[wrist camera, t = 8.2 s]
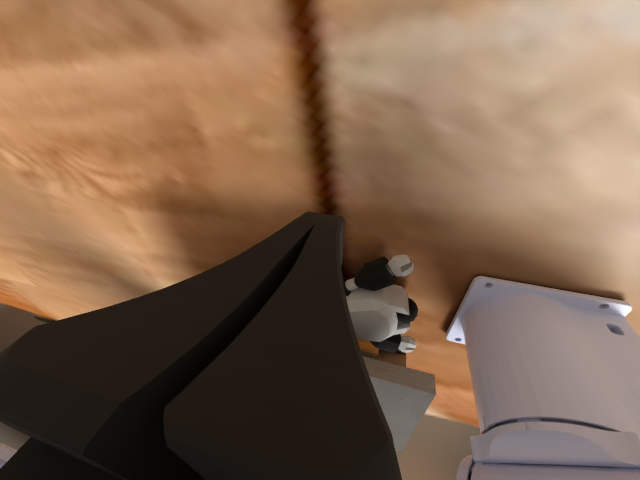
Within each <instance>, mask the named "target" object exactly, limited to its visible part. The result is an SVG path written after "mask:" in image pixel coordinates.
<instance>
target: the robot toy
mask: <svg viewBox="0 0 640 480" xmlns="http://www.w3.org/2000/svg"><path fill="white" fill-rule="evenodd" d="M413 270H414V264H413V262H412V261H411V262H410V258H409V257H408V256H407V255H405V254H400V255H394V256H393V258H392V259H391V260H390V261H389V260H388V259H387V258H386V257H385V256H384V257H381V258H379V259H376V260H374V261H371V262H369V263H367V264H365V265H364V266H363V267H362V268H361V270H360V271H359V272H358V274H357V275H356V276H355V277H354V278H352V279H349V280H347V279H346V278H345V277H342V278H343V284H344V290H345V294H346V299H347V304H348V308H349V312H350V316H351V320H352V323H353V327H354V330H355V333H356V337H357V339H360V340H368V341H370V342H371V343H372V344H373V345H374V347H375V348H379V349H382V350H385V351H388V352H391V353H395V352H396V351H397V350H398V349H399V350H400V351H401V352H407V353H410V352H412V351H413V350H414V349H413V348H415V347H416V341H415V339H413V338H411V337H410V336H401V335H400V334H403V333H406V332H407V330H408V329H409V328H410V322H411V321H413V320H414V319H415V318H416V317H417V313H418V308H417V305H416V303H415V302H414V301H413V300H412V299H410V298H408V293H407V292H406V290H405V289H404V288H403V287H402V286H398V285H394V284H395V281H396V276H402V277H406V276H407V275H409V274H410V273H412V272H413Z"/></svg>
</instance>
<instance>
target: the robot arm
mask: <svg viewBox="0 0 640 480" xmlns="http://www.w3.org/2000/svg"><path fill="white" fill-rule="evenodd" d="M344 227H345V220H344V218H343V217H342V216H335V215H328V214H321V213H314V212H306V213H304V214H303V215H301V216H300V217H298V218H297V219H295V220H294V221H292V222H291V223H289V224H288V225H287V226H285V227H284V228H282V229H281V230H279V231H277V232H276V233H274V234H273V235H271V236H270V237H268V238H267V239H265V240H263V241H262V242H260V243H258V244H257V245H255V246H253V247H252V248H250V249H248V250H247V251H245V252H243V253H241V254H240V255H238V256H236V257H234V258H232V259H230V260H228V261H226V262H224V263H222V264H220V265H218V266H216V267H214V268H212V269H210V270H208V271H205V272H203V273H201V274H198V275H196V276H193V277H191V278H189V279H186V280H184V281H181V282H179V283H176V284H174V285H171V286H169V287H166V288H163V289H161V290H158V291H155V292H152V293H149V294H146V295H144V296H141V297H138V298H135V299H131V300H128V301H125V302H122V303H119V304H116V305H112V306H109V307H106V308H102V309H99V310H95V311H91V312H88V313H84V314H80V315H77V316H73V317H69V318H66V319H62V320H58V321H54V322H51V323H47V324H43V325H39V326H36V327H34V328H33V329H31V330H30V331H28V332H27V333H26V334H24V335H23V336H22V337H21V338H19V339H18V340H17V341H15V342H14V343H13V344H11V345H10V346H9V347H7V348H6V349H5V350H3V351H2V352H1V353H0V422H2V423H4V424H6V425H8V426H10V427H12V428H14V429H16V430H18V431H20V432H22V433H24V434H26V435H28V436H30V439H28V441H27V442H26V443H25V444H24V445H23V446H22V447H21V448H20V449H19V450H18V451H16V450H14V449H12V448H10V447H8V446H6V445H4V444H2V443H0V480H402V478H401V473H400V469H399V465H398V460H397V456H396V452H395V447H394V442H393V436H392V433H391V430H390V428H389V425H388V423H387V420H386V418H385V415H384V413H383V411H382V408H381V406H380V403H379V400H378V398H377V395H376V392H375V390H374V387H373V385H372V382H371V379H370V376H369V373H368V371H367V368H366V365H365V362H364V359H363V356H362V353H361V350H360V347H359V343H358V340H357V337H356V333H355V330H354V327H353V323H352V320H351V316H350V312H349V308H348V304H347V299H346V294H345V290H344V284H343V278H342V270H341V266H342V261H343V245H344ZM487 283H491V284H487ZM631 310H632V306H631V305H630V304H629V303H628V302H626V301H621V300H616V299H610V298H604V297H598V296H593V295H587V294H581V293H576V292H570V291H564V290H559V289H553V288H547V287H542V286H536V285H530V284H524V283H519V282H513V281H507V280H502V279H496V278H490V277H485V276H478V277H475V278H474V279H473V281H472V283H471V285H470V287H469V289H468V291H467V293H466V295H465V297H464V298H463V300H462V302H461V304H460V306H459V308H458V310H457V312H456V314H455V316H454V318H453V320H452V322H451V324H450V326H449V328H448V330H447V332H446V339H447V340H449V341H452V342H457V343H461V344H465V345H466V350H467V356H468V362H469V368H470V373H471V379H472V385H473V391H474V396H475V402H476V408H477V414H478V420H479V425H480V431H481V435H478V436H471V437H470V441H471V448H472V455H470V456H467V457H465V458H464V459H463V460H462V461H461V463H460V465H459V468H458V472H457V476H456V479H455V480H640V337H639V335H638V334H637V333H636V331H635V330H634V329H633V328H632V326H631V325H630V324H629V322H628V321H627V320H626V318H625V316H626V315H627V314H628V313H629V312H630V311H631Z"/></svg>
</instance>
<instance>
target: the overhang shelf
mask: <svg viewBox="0 0 640 480" xmlns="http://www.w3.org/2000/svg"><path fill="white" fill-rule="evenodd" d="M357 340H358V343H359V347H360V350H361V353H362V356H363V359H364V362H365V365H366V368H367V371H368V373H369V376H370V379H371V382H372V385H373V387H374V390H375V392H376V395H377V398H378V400H379V403H380V406H381V408H382V411H383V413H384V415H385V418H386V420H387V423H388V425H389V428H390V430H391V433H392V436H393V442H394V447H395V449H397V450H402V449H403V447H404V446H405V444H406V443H407V441H408V439H409V438H410V436H411V434H412V433H413V431H414V429H415V428H416V426H417V425H418V423H419V421H420V419H421V418H422V416H423V415H424V413H425V411H426V410H427V408H428V407H429V405H430V403H431V402H432V400H433V398H434V397H435V395H436V390H435V375H433V374H429V373H426V372H422V371H418V370H414V369H410V368H406V354H402V353H398V352H395V353H391V352H388V351H385V350H382V349H379V348H375V347H374V345H373V344H372V343H371V342H370V341H368V340H360V339H357Z"/></svg>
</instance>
